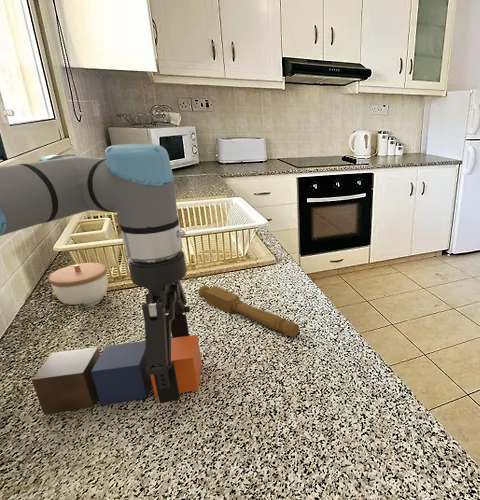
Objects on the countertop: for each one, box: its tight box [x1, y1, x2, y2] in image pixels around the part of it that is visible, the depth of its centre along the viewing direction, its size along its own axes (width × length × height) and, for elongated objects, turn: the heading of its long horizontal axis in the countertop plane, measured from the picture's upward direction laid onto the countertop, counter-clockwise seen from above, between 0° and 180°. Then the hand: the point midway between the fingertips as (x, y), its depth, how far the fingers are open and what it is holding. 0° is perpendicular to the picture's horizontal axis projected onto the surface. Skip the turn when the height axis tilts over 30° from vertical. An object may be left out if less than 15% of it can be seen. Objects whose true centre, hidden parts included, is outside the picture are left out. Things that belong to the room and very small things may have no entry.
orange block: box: [150, 334, 203, 398], centre depth 62 cm, size 6×6×6 cm
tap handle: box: [197, 285, 300, 338], centre depth 83 cm, size 3×3×30 cm
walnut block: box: [31, 346, 101, 415], centre depth 58 cm, size 6×6×6 cm
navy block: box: [91, 340, 152, 406], centre depth 60 cm, size 6×6×6 cm
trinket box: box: [48, 262, 109, 309], centre depth 85 cm, size 11×11×9 cm
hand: (176, 370), depth 63 cm, fingers open, 13 cm apart
